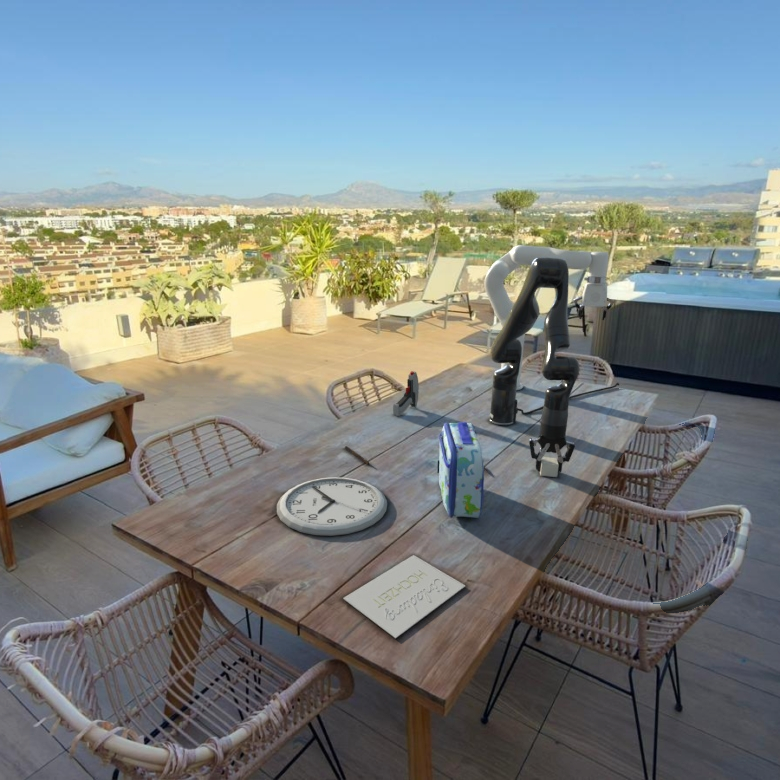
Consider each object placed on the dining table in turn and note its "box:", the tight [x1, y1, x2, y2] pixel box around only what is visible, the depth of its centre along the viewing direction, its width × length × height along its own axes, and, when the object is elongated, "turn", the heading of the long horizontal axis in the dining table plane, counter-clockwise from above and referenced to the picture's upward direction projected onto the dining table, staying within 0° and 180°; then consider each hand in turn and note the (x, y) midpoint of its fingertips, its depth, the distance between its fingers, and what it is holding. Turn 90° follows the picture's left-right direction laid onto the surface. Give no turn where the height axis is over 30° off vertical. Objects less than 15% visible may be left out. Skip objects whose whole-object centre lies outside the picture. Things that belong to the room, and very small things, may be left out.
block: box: [539, 456, 559, 478], centre depth 163 cm, size 5×5×4 cm
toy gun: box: [392, 370, 420, 417], centre depth 214 cm, size 2×16×15 cm
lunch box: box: [436, 421, 485, 519], centre depth 143 cm, size 26×11×21 cm, turn 179°
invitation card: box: [343, 554, 466, 639], centre depth 109 cm, size 21×1×15 cm
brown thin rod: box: [344, 445, 370, 465], centre depth 173 cm, size 15×1×1 cm, turn 34°
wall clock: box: [276, 476, 388, 537], centre depth 142 cm, size 30×2×30 cm
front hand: (548, 471), depth 164 cm, fingers closed on block, 5 cm apart
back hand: (591, 319), depth 236 cm, fingers open, 9 cm apart
